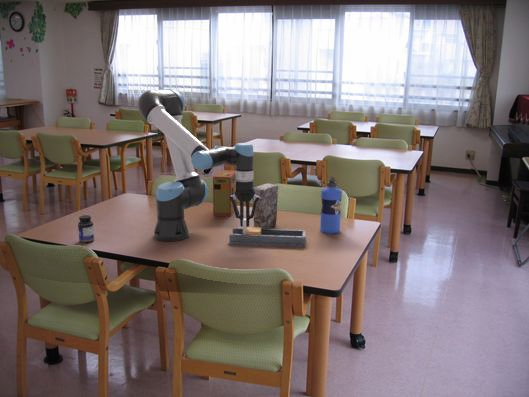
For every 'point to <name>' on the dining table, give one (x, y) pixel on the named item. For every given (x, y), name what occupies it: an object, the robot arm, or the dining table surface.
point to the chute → (269, 238)
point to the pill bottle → (85, 229)
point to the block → (253, 230)
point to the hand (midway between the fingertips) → (244, 233)
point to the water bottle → (330, 208)
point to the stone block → (266, 206)
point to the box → (223, 192)
